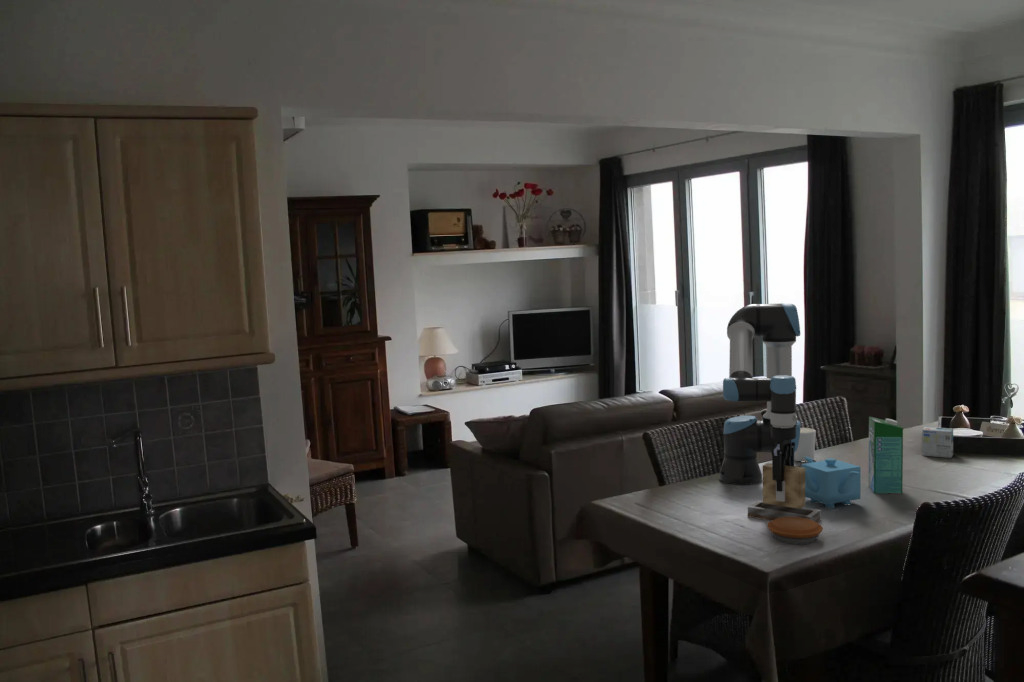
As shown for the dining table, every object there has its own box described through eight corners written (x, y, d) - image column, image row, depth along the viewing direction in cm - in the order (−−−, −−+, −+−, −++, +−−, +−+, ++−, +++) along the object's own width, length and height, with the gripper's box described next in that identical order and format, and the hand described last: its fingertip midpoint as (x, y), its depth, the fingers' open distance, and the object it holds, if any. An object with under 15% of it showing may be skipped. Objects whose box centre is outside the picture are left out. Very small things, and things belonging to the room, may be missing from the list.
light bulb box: (953, 454, 336) (953, 428, 335) (951, 458, 330) (952, 431, 329) (923, 452, 341) (924, 426, 340) (921, 455, 336) (922, 429, 335)
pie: (806, 527, 255) (806, 511, 254) (833, 544, 240) (833, 527, 239) (758, 532, 252) (757, 516, 252) (782, 549, 237) (782, 532, 237)
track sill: (747, 516, 267) (747, 507, 267) (759, 509, 274) (759, 500, 274) (810, 527, 255) (810, 517, 254) (820, 519, 262) (820, 510, 261)
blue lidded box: (860, 497, 283) (861, 454, 282) (859, 513, 266) (860, 467, 265) (801, 493, 291) (801, 451, 290) (797, 508, 274) (797, 464, 272)
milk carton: (902, 493, 285) (903, 421, 283) (874, 493, 287) (874, 421, 285) (895, 486, 294) (896, 416, 292) (868, 486, 296) (868, 416, 294)
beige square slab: (762, 503, 266) (762, 465, 265) (768, 499, 269) (767, 462, 268) (800, 509, 258) (800, 470, 257) (805, 505, 262) (805, 467, 261)
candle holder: (784, 458, 339) (784, 429, 338) (805, 455, 342) (805, 426, 341) (800, 463, 330) (800, 433, 329) (821, 461, 333) (821, 431, 332)
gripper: (784, 431, 253) (784, 507, 255) (805, 422, 266) (805, 494, 268) (760, 429, 257) (760, 503, 259) (782, 419, 271) (782, 490, 273)
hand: (783, 498), depth 264 cm, fingers closed on beige square slab, 4 cm apart
